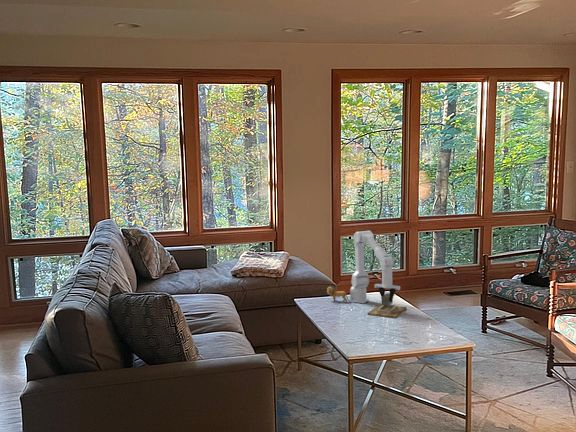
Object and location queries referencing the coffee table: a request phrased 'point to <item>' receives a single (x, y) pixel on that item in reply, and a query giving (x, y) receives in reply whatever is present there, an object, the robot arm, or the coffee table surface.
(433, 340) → the coffee table surface
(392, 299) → the robot arm
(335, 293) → the lion figurine
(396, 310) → the pocket plate
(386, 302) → the servo block
